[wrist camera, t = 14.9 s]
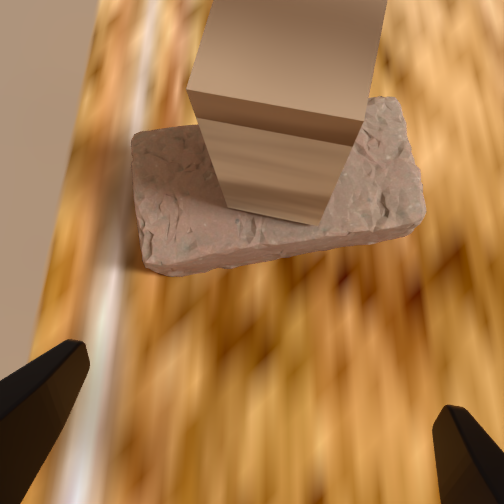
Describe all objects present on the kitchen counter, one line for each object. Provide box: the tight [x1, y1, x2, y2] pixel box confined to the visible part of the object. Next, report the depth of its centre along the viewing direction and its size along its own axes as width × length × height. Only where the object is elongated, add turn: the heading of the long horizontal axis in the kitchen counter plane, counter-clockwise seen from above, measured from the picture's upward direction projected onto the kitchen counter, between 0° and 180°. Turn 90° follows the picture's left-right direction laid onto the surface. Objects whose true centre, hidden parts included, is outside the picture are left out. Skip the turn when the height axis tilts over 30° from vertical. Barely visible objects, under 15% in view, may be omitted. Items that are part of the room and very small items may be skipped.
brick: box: [131, 96, 426, 277], centre depth 23 cm, size 17×8×5 cm, turn 99°
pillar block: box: [186, 0, 387, 226], centre depth 15 cm, size 5×5×10 cm
